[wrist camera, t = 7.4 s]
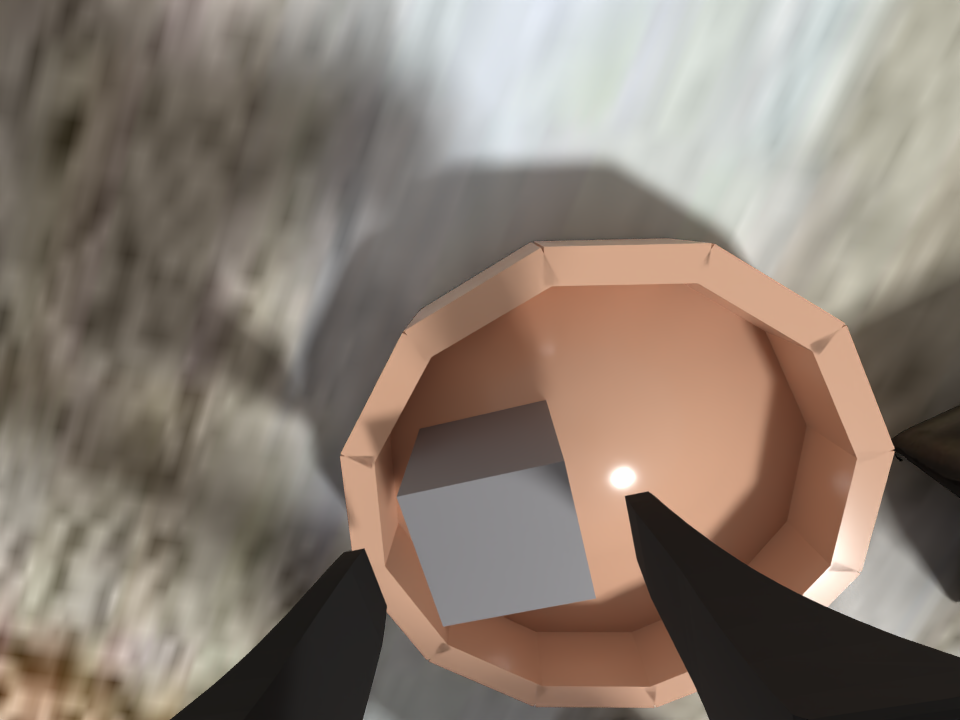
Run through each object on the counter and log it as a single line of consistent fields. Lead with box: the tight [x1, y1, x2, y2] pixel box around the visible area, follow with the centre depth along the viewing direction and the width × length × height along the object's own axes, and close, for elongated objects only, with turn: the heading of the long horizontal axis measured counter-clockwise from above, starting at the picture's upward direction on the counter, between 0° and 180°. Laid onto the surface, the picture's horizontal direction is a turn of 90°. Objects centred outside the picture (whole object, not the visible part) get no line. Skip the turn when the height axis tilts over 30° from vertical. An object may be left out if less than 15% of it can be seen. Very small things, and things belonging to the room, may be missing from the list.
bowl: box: [340, 238, 895, 708], centre depth 15 cm, size 16×16×3 cm
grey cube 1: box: [397, 400, 596, 627], centre depth 14 cm, size 4×4×4 cm
